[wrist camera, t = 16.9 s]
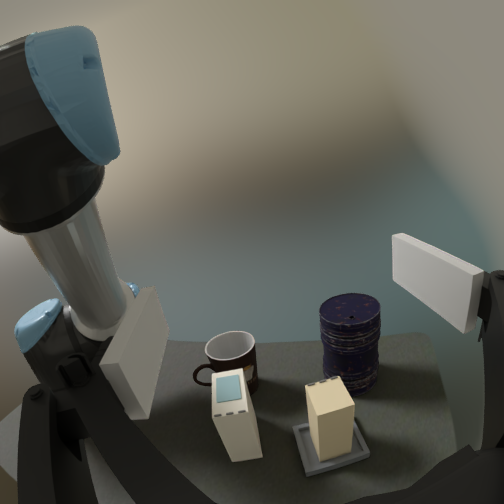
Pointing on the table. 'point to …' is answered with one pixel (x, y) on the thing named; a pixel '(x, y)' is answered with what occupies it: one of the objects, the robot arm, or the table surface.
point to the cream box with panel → (235, 415)
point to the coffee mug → (232, 357)
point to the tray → (316, 467)
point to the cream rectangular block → (330, 417)
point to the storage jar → (351, 340)
